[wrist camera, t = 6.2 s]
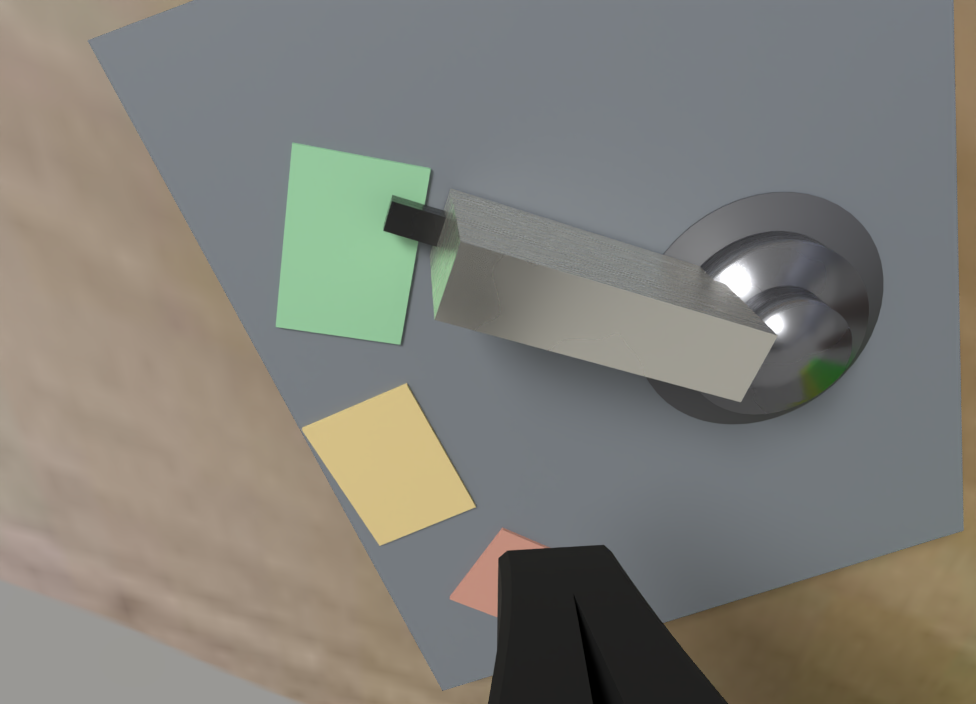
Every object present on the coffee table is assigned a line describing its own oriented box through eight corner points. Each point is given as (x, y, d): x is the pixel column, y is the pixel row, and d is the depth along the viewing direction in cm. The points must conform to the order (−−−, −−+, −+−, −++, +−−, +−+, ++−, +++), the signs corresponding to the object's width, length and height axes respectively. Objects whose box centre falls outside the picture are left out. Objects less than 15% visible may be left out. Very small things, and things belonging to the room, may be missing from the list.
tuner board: (903, -264, 13) (952, -287, 12) (935, 502, 21) (965, 533, 20) (112, 35, 14) (85, 41, 13) (441, 656, 22) (442, 694, 21)
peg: (883, 261, 16) (985, 323, 13) (792, 413, 18) (866, 498, 15) (417, 104, 14) (419, 138, 11) (362, 297, 15) (351, 371, 12)
